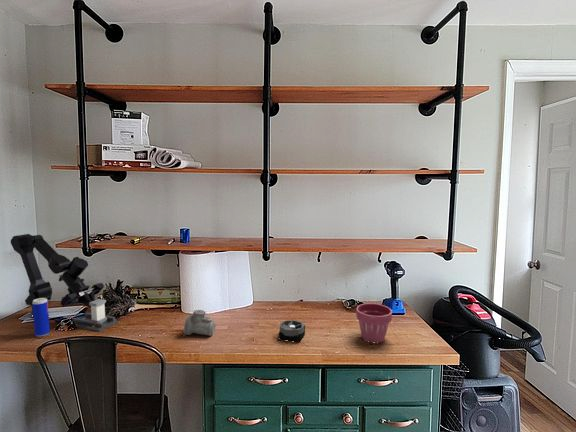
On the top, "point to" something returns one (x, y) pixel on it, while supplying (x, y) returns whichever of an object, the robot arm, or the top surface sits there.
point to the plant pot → (373, 321)
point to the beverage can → (41, 317)
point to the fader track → (93, 323)
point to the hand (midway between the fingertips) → (94, 308)
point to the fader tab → (98, 310)
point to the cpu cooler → (292, 330)
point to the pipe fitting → (199, 324)
